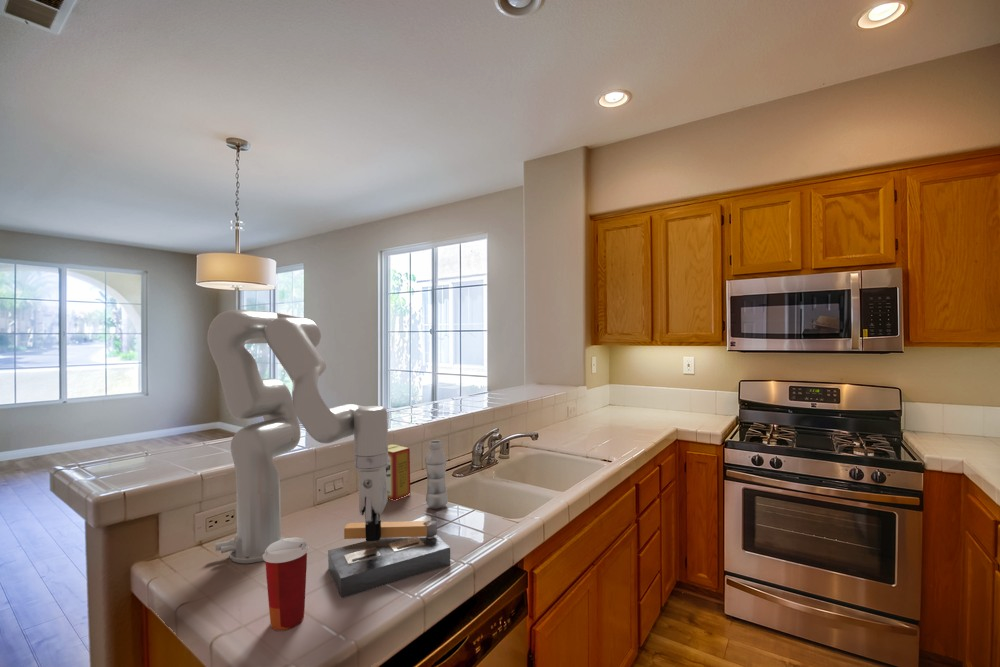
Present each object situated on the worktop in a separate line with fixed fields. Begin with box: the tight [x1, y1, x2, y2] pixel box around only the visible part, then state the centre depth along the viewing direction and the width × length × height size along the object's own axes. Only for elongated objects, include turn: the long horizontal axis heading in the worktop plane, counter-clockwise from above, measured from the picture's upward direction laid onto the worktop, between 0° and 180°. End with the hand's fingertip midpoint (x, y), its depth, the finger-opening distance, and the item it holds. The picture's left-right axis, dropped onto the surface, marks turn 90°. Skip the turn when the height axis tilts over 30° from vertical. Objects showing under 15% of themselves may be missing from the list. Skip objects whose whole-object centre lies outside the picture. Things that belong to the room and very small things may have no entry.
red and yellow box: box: [386, 443, 411, 500], centre depth 148 cm, size 10×6×16 cm
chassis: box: [327, 533, 451, 599], centre depth 102 cm, size 24×14×5 cm, turn 121°
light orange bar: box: [343, 520, 438, 540], centre depth 107 cm, size 22×3×2 cm, turn 91°
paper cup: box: [263, 537, 310, 632], centre depth 83 cm, size 8×8×14 cm
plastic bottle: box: [424, 440, 449, 510], centre depth 137 cm, size 6×7×20 cm
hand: (373, 539), depth 103 cm, fingers closed
